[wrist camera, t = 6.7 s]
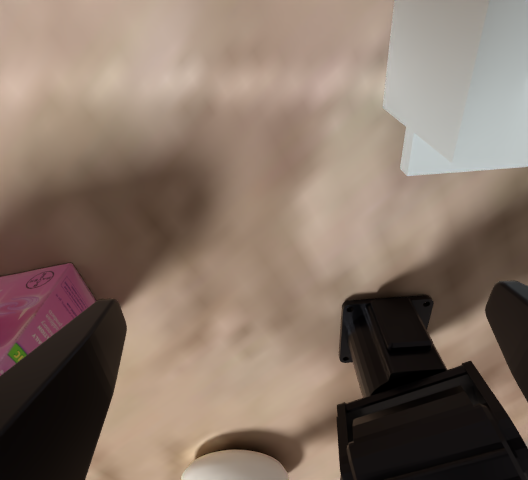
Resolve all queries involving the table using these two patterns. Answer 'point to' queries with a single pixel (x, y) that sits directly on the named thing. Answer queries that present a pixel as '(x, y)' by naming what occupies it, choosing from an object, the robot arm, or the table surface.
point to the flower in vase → (235, 467)
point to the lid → (459, 84)
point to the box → (38, 308)
